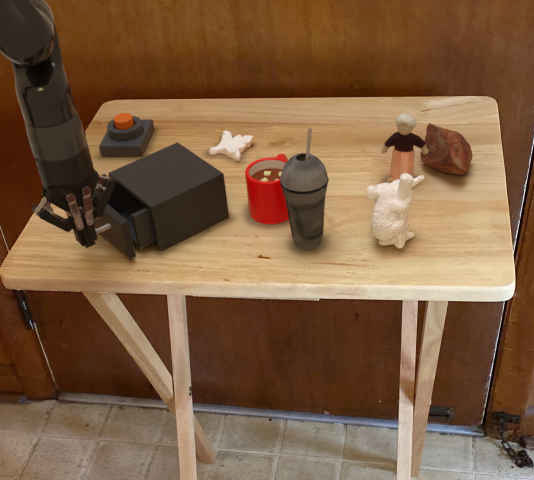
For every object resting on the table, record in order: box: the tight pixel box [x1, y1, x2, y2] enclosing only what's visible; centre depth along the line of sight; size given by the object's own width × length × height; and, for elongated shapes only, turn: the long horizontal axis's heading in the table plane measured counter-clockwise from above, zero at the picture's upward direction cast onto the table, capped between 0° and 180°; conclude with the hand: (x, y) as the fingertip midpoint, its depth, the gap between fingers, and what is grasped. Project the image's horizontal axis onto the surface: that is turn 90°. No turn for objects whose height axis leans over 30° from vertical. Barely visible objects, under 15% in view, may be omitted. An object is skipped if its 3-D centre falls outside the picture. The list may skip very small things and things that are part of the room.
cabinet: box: [107, 142, 230, 252], centre depth 134 cm, size 14×14×9 cm
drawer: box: [94, 182, 156, 260], centre depth 131 cm, size 17×12×7 cm
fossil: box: [419, 122, 474, 176], centre depth 140 cm, size 13×8×10 cm
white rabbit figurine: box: [365, 173, 425, 250], centre depth 124 cm, size 8×7×12 cm
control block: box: [98, 115, 155, 157], centre depth 155 cm, size 10×8×4 cm
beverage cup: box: [280, 127, 330, 252], centre depth 122 cm, size 7×7×20 cm
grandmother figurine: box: [380, 112, 428, 183], centre depth 135 cm, size 8×4×13 cm, turn 89°
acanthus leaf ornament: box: [208, 130, 254, 162], centre depth 151 cm, size 8×7×2 cm
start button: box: [113, 112, 134, 130], centre depth 154 cm, size 4×4×2 cm
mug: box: [244, 153, 289, 225], centre depth 135 cm, size 8×12×8 cm, turn 164°
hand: (88, 244), depth 124 cm, fingers closed
